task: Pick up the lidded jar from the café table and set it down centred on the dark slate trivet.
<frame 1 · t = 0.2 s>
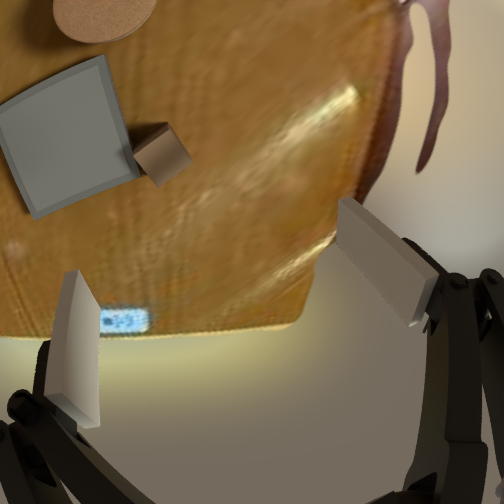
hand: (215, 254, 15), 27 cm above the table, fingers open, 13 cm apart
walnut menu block: (161, 148, 37), on the table
lidded jar: (113, 7, 24), on the table
slate trivet: (65, 137, 31), on the table
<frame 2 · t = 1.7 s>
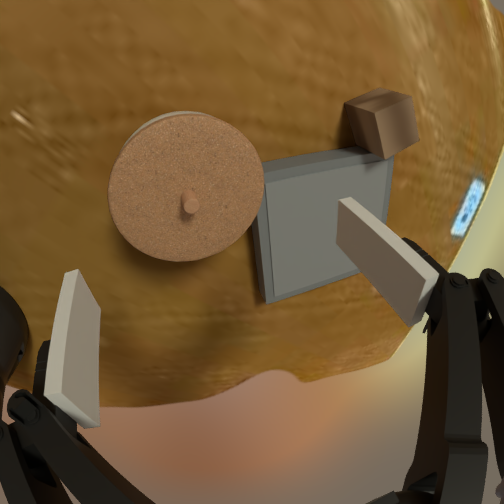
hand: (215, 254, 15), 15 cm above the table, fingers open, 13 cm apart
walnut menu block: (367, 115, 29), on the table
lidded jar: (176, 160, 26), on the table
slate trivet: (319, 218, 35), on the table
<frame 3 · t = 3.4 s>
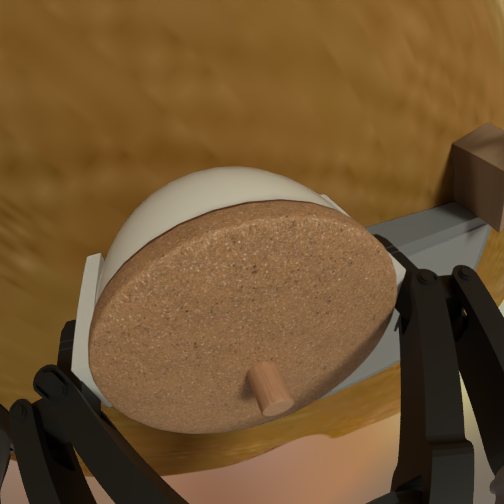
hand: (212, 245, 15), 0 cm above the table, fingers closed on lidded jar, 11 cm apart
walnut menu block: (471, 160, 19), on the table
lidded jar: (209, 238, 16), on the table, touching gripper
slate trivet: (396, 294, 24), on the table
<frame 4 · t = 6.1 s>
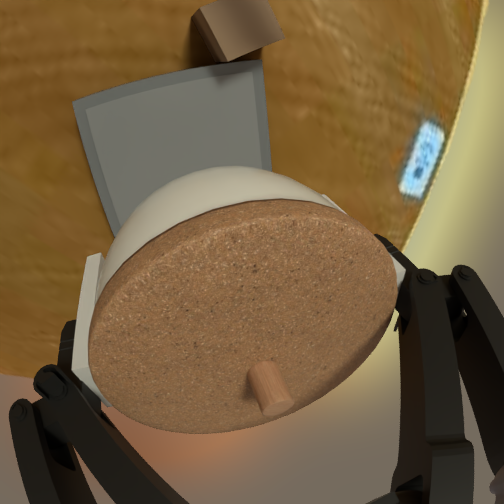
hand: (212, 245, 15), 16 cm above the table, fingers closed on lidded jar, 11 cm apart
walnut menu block: (228, 28, 22), on the table
lidded jar: (209, 237, 16), point 15 cm above the table, touching gripper
slate trivet: (180, 154, 28), on the table
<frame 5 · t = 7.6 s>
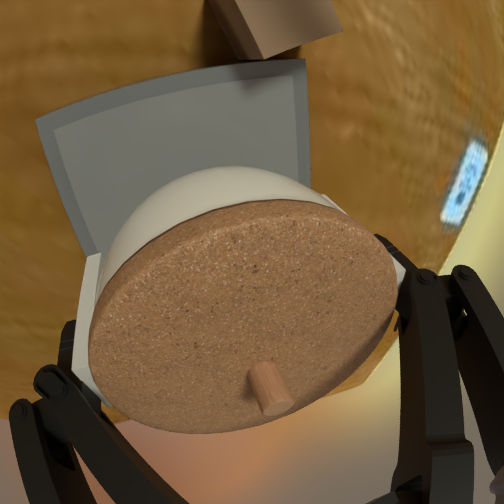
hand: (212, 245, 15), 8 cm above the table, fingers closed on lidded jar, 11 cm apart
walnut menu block: (255, 14, 15), on the table
lidded jar: (209, 237, 16), point 7 cm above the table, touching gripper
slate trivet: (188, 187, 21), on the table
when the fingers open (4 cm above the table, at t = 8.8 s): lidded jar drops 1 cm, resting on slate trivet.
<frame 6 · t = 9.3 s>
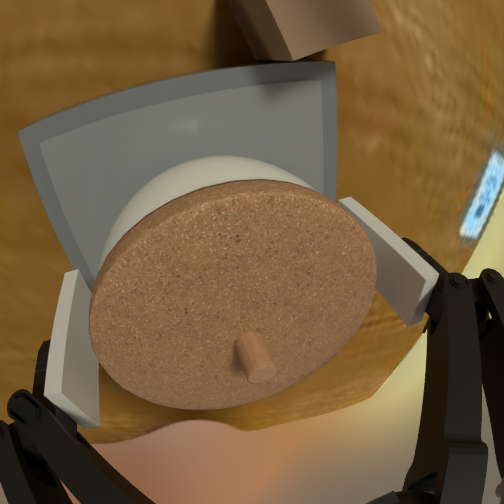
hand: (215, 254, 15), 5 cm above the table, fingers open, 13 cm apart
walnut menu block: (276, 8, 13), on the table
lidded jar: (204, 225, 17), point 2 cm above the table, touching slate trivet
slate trivet: (198, 206, 19), on the table
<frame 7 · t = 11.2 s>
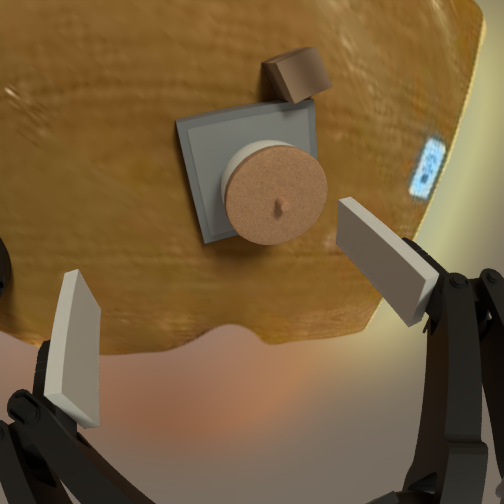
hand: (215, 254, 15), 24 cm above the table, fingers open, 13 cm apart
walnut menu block: (287, 72, 32), on the table
lidded jar: (256, 172, 36), point 2 cm above the table, touching slate trivet
slate trivet: (251, 165, 38), on the table
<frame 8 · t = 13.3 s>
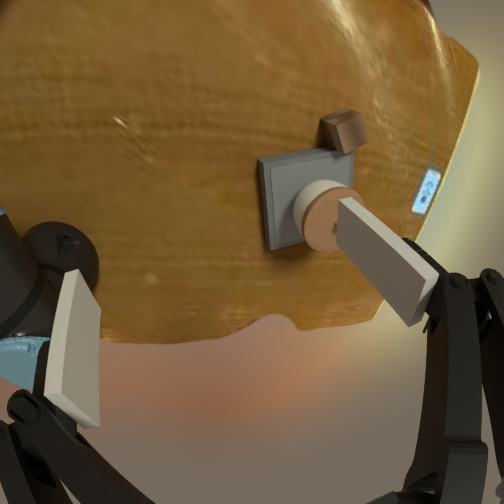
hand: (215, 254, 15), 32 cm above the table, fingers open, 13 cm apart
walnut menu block: (336, 126, 47), on the table
lidded jar: (312, 199, 51), point 2 cm above the table, touching slate trivet
slate trivet: (306, 193, 53), on the table
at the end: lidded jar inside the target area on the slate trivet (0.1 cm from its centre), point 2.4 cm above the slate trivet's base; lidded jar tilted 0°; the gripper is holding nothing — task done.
